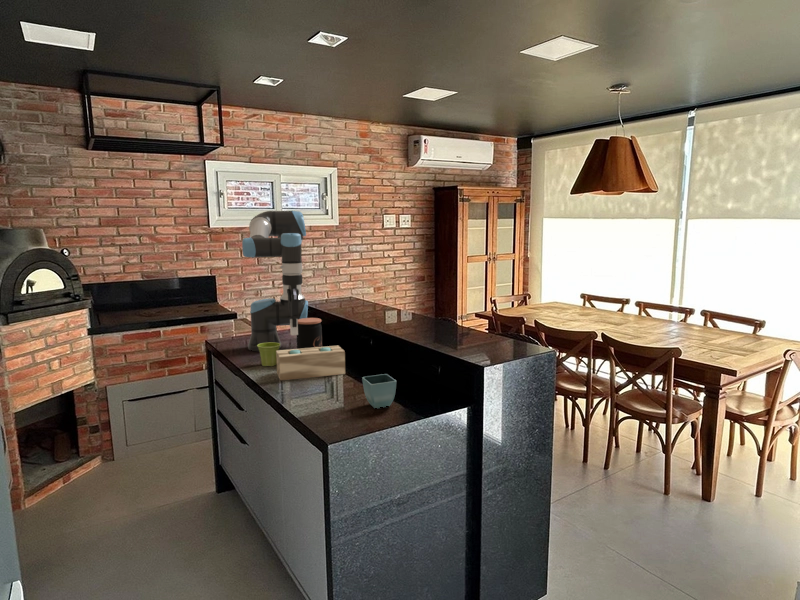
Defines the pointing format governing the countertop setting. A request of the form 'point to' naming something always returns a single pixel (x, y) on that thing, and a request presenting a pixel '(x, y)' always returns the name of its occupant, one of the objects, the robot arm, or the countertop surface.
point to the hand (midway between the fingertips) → (294, 334)
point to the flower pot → (379, 390)
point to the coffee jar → (309, 333)
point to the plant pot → (268, 353)
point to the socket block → (310, 363)
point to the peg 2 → (325, 349)
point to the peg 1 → (295, 352)
